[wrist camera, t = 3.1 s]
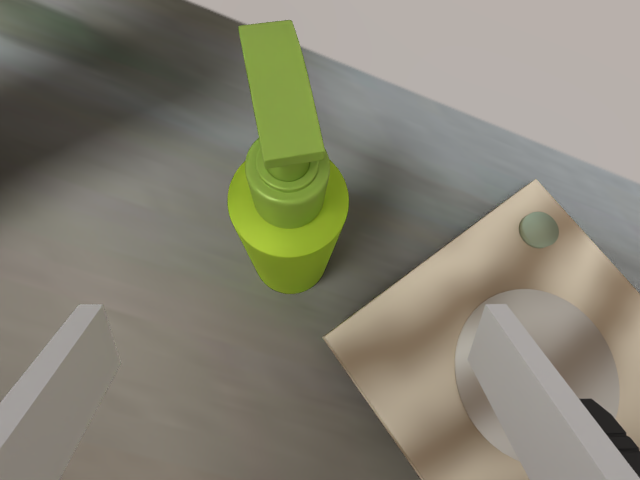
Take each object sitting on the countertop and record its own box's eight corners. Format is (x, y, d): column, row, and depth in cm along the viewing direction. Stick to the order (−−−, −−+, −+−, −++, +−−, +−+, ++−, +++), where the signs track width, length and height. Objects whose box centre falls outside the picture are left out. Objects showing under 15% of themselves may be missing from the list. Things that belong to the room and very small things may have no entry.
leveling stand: (319, 338, 29) (325, 336, 24) (500, 202, 33) (541, 175, 28) (490, 584, 25) (543, 648, 20) (669, 397, 30) (753, 409, 24)
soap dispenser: (315, 207, 32) (349, 0, 13) (333, 285, 30) (403, 184, 11) (247, 219, 31) (172, 19, 12) (261, 300, 29) (200, 219, 10)
